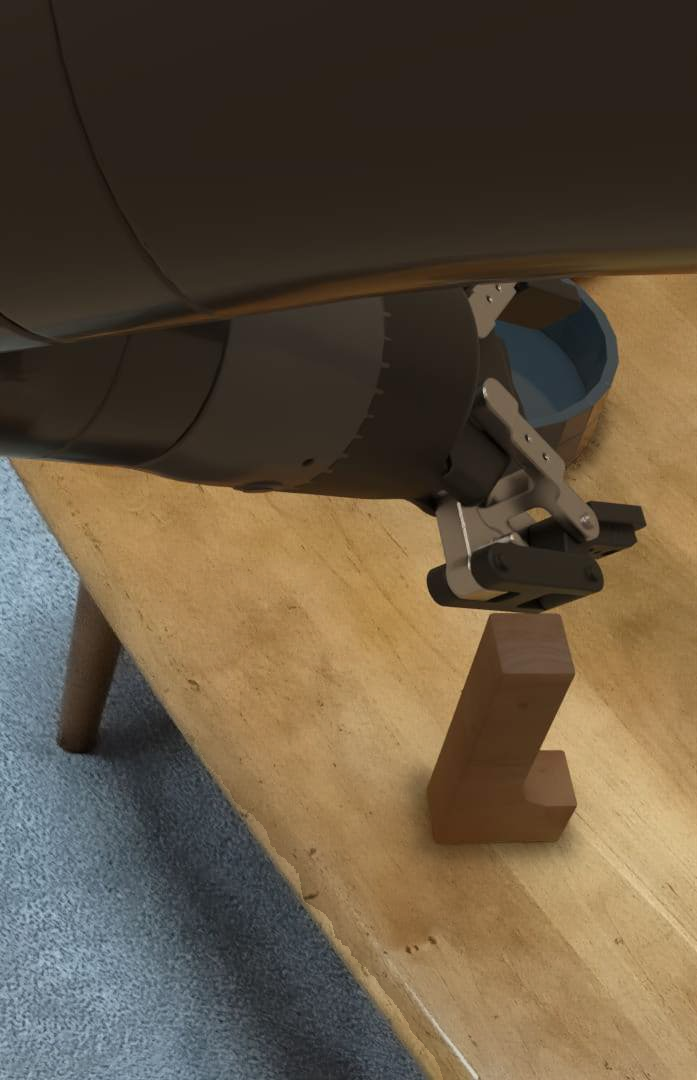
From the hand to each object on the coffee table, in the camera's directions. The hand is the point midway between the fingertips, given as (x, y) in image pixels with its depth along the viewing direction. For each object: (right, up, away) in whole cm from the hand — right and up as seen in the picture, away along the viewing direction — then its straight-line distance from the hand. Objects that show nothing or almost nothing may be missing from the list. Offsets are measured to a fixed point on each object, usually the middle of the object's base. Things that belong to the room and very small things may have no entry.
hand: (590, 415), depth 45 cm
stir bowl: (-1, +6, +41) cm, 41 cm away
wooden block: (-1, -19, +19) cm, 27 cm away
